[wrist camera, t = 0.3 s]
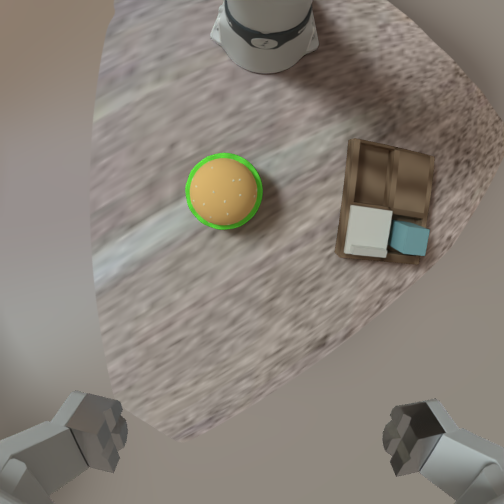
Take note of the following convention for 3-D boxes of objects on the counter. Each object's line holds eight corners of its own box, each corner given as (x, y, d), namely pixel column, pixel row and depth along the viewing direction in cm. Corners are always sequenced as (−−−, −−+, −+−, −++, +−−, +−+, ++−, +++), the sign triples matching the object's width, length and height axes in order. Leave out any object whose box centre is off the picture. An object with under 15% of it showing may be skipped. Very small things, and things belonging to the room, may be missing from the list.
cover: (350, 204, 49) (356, 206, 46) (390, 210, 49) (397, 212, 47) (343, 252, 51) (348, 256, 48) (383, 255, 51) (389, 260, 49)
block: (390, 219, 52) (407, 226, 45) (411, 222, 52) (429, 229, 46) (386, 243, 53) (403, 253, 47) (406, 245, 53) (424, 255, 47)
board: (348, 140, 50) (354, 138, 46) (425, 156, 50) (434, 156, 47) (334, 252, 55) (339, 257, 51) (410, 259, 55) (418, 264, 52)
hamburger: (250, 232, 54) (250, 244, 46) (183, 214, 53) (171, 222, 45) (270, 165, 51) (273, 164, 43) (201, 146, 50) (192, 142, 42)
